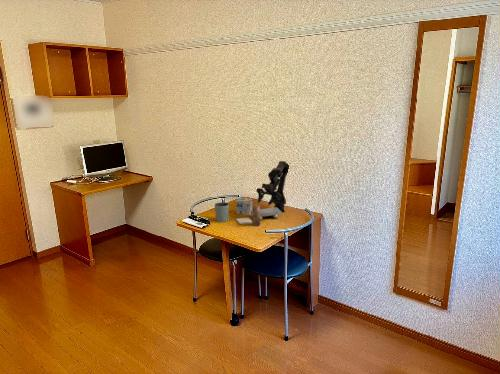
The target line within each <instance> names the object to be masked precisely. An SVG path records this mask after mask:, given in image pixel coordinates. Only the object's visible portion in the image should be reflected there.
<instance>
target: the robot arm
mask: <svg viewBox="0 0 500 374" xmlns="http://www.w3.org/2000/svg"><path fill="white" fill-rule="evenodd" d="M288 164H289V163H287V161H286V160H285V161H284V160H280V161H278V164H277V165H276V167H274V168H272V170H271V171H269V172H268V174H267V176H268V178H269V181H270V182H269V183H261V184H262V185H261V188H259V187H258V188H256V191H255V192H257V194H258V197H257V203H258V204H259V203H260V202H261V201H262V200H263V199H264V197H265V195H268V196H271V197H270V200H269V201H268V203H267V206H271V205H272V204H274V205H273V206H274V207H273V208H276V207H277V208H278V209H279V210H280V211H282V213H284V212H286V211H285V205H286V203H287V201H286V197H285V193H284V189H285V183H286V178H287V176H288V175H287V173H288V169H289V165H290V164H289V165H288Z"/></svg>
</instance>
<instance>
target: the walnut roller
mask: <svg viewBox="0 0 500 374" xmlns="http://www.w3.org/2000/svg"><path fill="white" fill-rule="evenodd" d="M260 209H261V208H260V206H259V205H252V214H251V216H252V226H253V227H260V226H261V221H260Z"/></svg>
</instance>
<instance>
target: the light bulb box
mask: <svg viewBox="0 0 500 374" xmlns="http://www.w3.org/2000/svg"><path fill="white" fill-rule="evenodd" d="M235 202H236V215H249V216H251V215H252V214H251V210H252V207H253V198H250V197H249V198H248V197H238V198H237V199H236V201H235Z"/></svg>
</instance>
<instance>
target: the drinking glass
mask: <svg viewBox="0 0 500 374" xmlns="http://www.w3.org/2000/svg"><path fill="white" fill-rule="evenodd" d="M229 209H230V203H228V202H222V201H218V202H215V203H214V213H215V221H216V222H218V223H227V222H228V221H229Z"/></svg>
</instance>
